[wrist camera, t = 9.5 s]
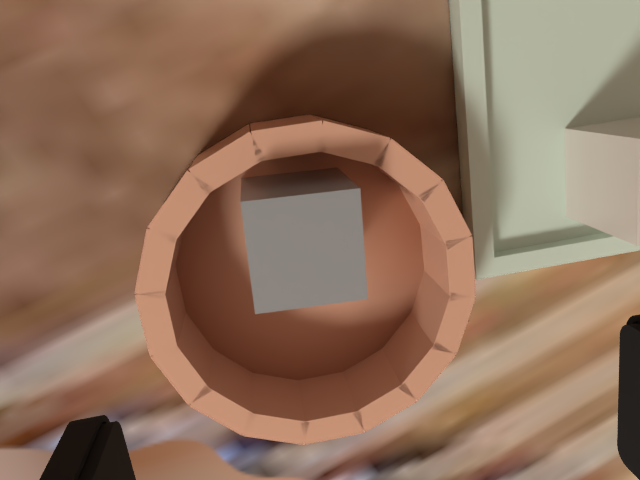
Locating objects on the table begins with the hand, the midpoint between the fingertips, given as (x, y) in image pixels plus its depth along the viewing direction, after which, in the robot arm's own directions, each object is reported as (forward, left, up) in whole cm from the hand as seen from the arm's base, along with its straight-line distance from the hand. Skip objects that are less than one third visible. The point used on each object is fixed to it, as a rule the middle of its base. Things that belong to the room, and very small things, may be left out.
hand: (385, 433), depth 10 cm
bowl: (+3, 0, -18) cm, 18 cm away
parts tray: (-3, +16, -18) cm, 24 cm away
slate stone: (0, 0, -17) cm, 17 cm away
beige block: (0, +16, -18) cm, 24 cm away
